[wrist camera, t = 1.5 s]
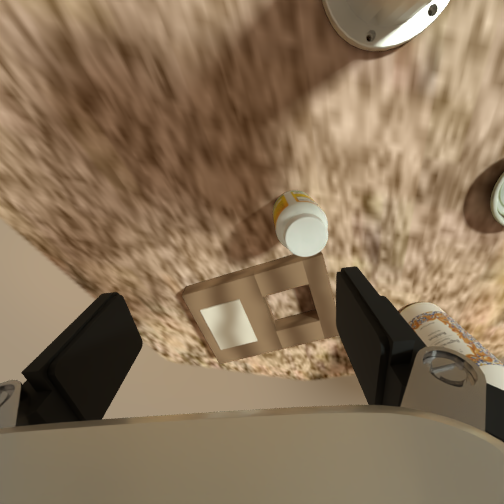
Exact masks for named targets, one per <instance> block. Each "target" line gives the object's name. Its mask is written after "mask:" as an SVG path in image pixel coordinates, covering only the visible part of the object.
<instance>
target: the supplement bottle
mask: <svg viewBox="0 0 504 504" xmlns="http://www.w3.org/2000/svg"><path fill="white" fill-rule="evenodd" d="M273 220H274V224H275V230H276V234H277V237H278V239H279V241H280V242H281V244H282V245H283V246H285V247H286V248H288V249H289V250H290V251H291V252H292V253H293V254H295V255H297V256H301V257H309V256H313V255H315V254H317V253H319V252H320V251H321V250H322V249H323V248H324V247H325V245H326V243H327V240H328V231H327V229H328V222H327V217H326V215H325V213H324V212H323V210H322V209H321V208H320V207H319V206H318V205H317V204H316V203H315V202H314V201H313V200H312V199H311V197H310V196H308V195H307V194H306V193H304V192H301V191H289V192H286V193H284V194H282V195H281V196H280V197H279V198H278V199H277V201H276V202H275V204H274V207H273Z"/></svg>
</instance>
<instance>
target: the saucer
mask: <svg viewBox="0 0 504 504" xmlns="http://www.w3.org/2000/svg"><path fill="white" fill-rule="evenodd" d="M490 208H491V213H492V215H493V217H494V218H495V220H496V221H497V222H498V223H499V224H501V225H502V226H504V172H503V174H502V175H501V176H500V178H499V179H498V181H497V182H496V184H495V186H494V189H493V191H492V194H491V200H490Z"/></svg>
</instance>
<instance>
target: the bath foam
mask: <svg viewBox="0 0 504 504" xmlns="http://www.w3.org/2000/svg"><path fill="white" fill-rule="evenodd" d="M400 314H401V315H402V317H403V318H404V319H405V320H406V322H407V323H408V324H409V325H410V326H411V328H412V329H413V330H414V331H415V332H416V334H417V335H418V336H419V337H420V338H421V340H422V341H423V342H424V343H425V344H426V346H427V347H429V346H439V347H445V348H449V349H452V350H454V351H457V352H459V353H461V354H463V355H465V356H466V357H468V358H470V359H471V360H472V361H473V362H475V363H476V364H477V365H478V366H479V367H480V369H481V370H482V371H483V373H484V374H485V378H486V383H488V384H490V385H493V386H495V387H497V388H499V389H502V390H504V364H503V363H502V362H500V361H499V360H498V359H497V358H496V357H495V356H494V355H493V354H491V353H490V352H489V351H488V350H487V349H486V348H485V347H484V346H482V345H481V344H480V343H479V342H478V341H477V340H476V339H475V338H473V337H472V336H471V335H470V334H469V333H468V332H467V331H466V330H464V329H463V328H462V327H461V326H460V325H459V324H458V323H457V322H455V321H454V320H453V319H452V318H451V317H450V316H449V315H447V314H446V313H445V312H444V311H443V310H442V309H441V308H439V307H438V306H437V305H435V304H432V303H428V302H420V303H415V304H412V305H410V306H408V307H406V308H405V309H404V310H403V311H401V313H400Z"/></svg>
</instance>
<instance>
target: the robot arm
mask: <svg viewBox="0 0 504 504" xmlns="http://www.w3.org/2000/svg"><path fill="white" fill-rule="evenodd" d="M449 1H450V0H322V2H323V5H324V9H325V12H326V15H327V17H328V19H329V21H330V23H331V25H332V26H333V28H334V29H335V30H336V31H337V33H338V34H339V35H340V37H342V38H343V39H344V40H345V41H347V42H348V43H349V44H351V45H353V46H355V47H357V48H359V49H362V50H368V51H385V50H389V49H392V48H395V47H398V46H400V45H402V44H404V43H406V42H408V41H410V40H411V39H413V38H414V37H416V36H417V35H419V34H420V33H422V32H423V31H424V30H425V29H426V28H427V27H428V26H429V25H431V24H432V23H433V22H434V21H435V20H436V18H437V17H438V16H439V15H440V14H441V12H442V11H443V10H444V9H445V8H446V6H447V5H448V3H449ZM427 12H428V13H427ZM428 14H429V15H428ZM366 37H369V42H368V41H367V39H366ZM336 327H337V331H338V333H339V336H340V338H341V340H342V343H343V345H344V348H345V350H346V352H347V355H348V357H349V359H350V362H351V364H352V366H353V369H354V371H355V374H356V376H357V378H358V381H359V383H360V385H361V388H362V390H363V392H364V395H365V397H366V399H367V402H368V404H369V405H340V406H339V405H337V406H312V407H291V408H274V409H258V410H241V411H224V412H209V413H192V414H177V415H161V416H147V417H131V418H118V419H103V420H102V418H103V416H104V414H105V412H106V411H107V409H108V407H109V406H110V404H111V402H112V400H113V398H114V397H115V395H116V393H117V391H118V390H119V388H120V386H121V384H122V382H123V381H124V379H125V377H126V375H127V373H128V372H129V370H130V368H131V366H132V364H133V363H134V361H135V359H136V357H137V356H138V354H139V352H140V350H141V348H142V339H141V336H140V334H139V332H138V329H137V327H136V325H135V323H134V320H133V318H132V316H131V313H130V311H129V309H128V307H127V304H126V302H125V300H124V298H123V296H122V295H120V294H119V293H117V292H113V293H104V294H101V295H100V296H99V297H98V298H97V299H96V300H95V301H94V302H93V303H92V304H91V305H90V306H89V307H88V308H87V309H86V310H85V311H84V312H83V313H82V314H81V315H80V316H79V317H78V318H77V319H76V320H75V321H74V322H73V323H71V325H69V326H68V327H67V328H66V329H65V330H64V331H63V332H62V333H61V334H60V335H59V336H58V337H57V338H56V339H55V340H54V341H53V342H52V343H51V344H50V345H49V346H48V347H47V348H46V349H45V350H44V351H43V352H42V353H41V354H40V355H39V356H38V357H37V358H36V359H35V360H34V361H33V362H32V363H31V364H30V365H29V366H28V367H27V368H26V369H24V370H23V371H22V374H23V375H24V377H25V378H26V379H27V381H26V382H25V383H24V384H23V385H22V383H21V382H20V381H18V380H10V381H6V382H3V383H0V504H504V390H502V389H499V388H497V387H495V386H493V385H490V384H488V383H486V378H485V374H484V373H483V371H482V370H481V369H480V367H479V366H478V365H477V364H476V363H475V362H473V361H472V360H471V359H470V358H468V357H466V356H465V355H463V354H461V353H459V352H457V351H454V350H452V349H449V348H445V347H439V346H429V347H427V346H426V344H425V343H424V342H423V341H422V340H421V338H420V337H419V336H418V335H417V334H416V332H415V331H414V330H413V329H412V328H411V326H410V325H409V324H408V323H407V322H406V320H405V319H404V318H403V317H402V315H401V314H400V313H399V312H398V311H397V309H396V308H395V307H394V306H393V305H392V303H391V302H390V301H389V300H388V299H387V298H386V297H385V296H380V295H379V294H378V293H377V291H376V290H375V289H374V288H373V286H372V285H371V284H370V283H369V281H368V280H367V279H366V278H365V276H364V275H363V274H362V272H361V271H360V270H359V269H358V268H357V267H346V268H342V269H341V272H337V276H336Z"/></svg>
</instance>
